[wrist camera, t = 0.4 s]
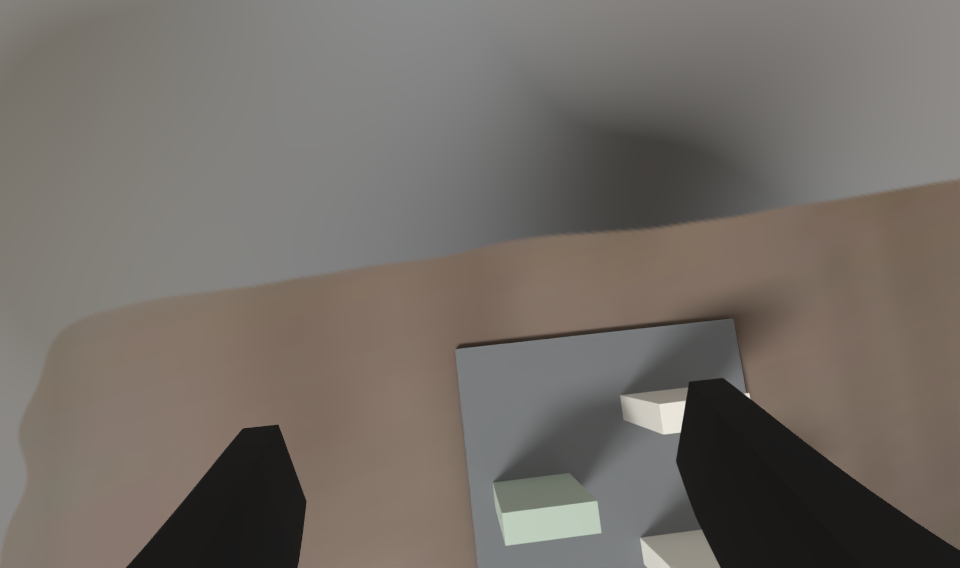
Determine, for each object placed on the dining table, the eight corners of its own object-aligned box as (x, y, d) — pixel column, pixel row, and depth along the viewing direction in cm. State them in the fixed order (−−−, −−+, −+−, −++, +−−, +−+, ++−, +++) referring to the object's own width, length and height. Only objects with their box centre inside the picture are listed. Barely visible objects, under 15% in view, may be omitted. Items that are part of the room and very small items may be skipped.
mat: (800, 731, 34) (804, 735, 34) (499, 779, 33) (500, 784, 33) (730, 318, 38) (733, 318, 37) (455, 349, 37) (455, 349, 36)
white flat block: (697, 411, 36) (754, 423, 29) (623, 419, 36) (663, 434, 29) (693, 386, 36) (749, 393, 30) (619, 395, 36) (659, 404, 29)
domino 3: (719, 553, 35) (785, 601, 28) (643, 564, 35) (690, 615, 28) (715, 527, 35) (779, 568, 28) (640, 537, 35) (685, 581, 28)
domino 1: (572, 498, 35) (601, 533, 28) (495, 508, 35) (505, 545, 28) (569, 472, 35) (597, 500, 28) (492, 482, 35) (501, 513, 28)
